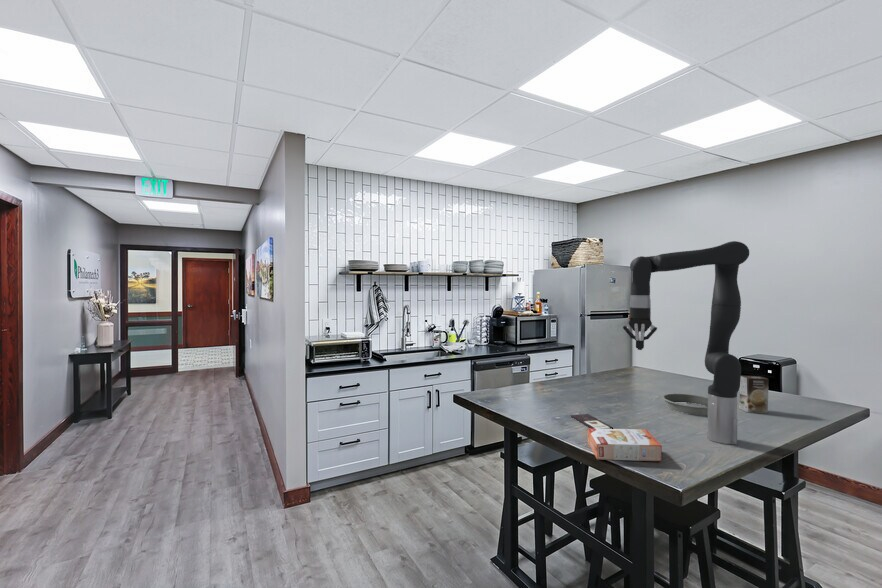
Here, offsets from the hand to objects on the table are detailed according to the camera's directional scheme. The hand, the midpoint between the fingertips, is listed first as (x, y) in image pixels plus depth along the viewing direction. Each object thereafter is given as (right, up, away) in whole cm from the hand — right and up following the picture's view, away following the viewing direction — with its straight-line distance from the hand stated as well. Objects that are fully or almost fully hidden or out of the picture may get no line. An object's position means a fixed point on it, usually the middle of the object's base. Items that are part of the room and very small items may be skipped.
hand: (639, 349), depth 166 cm
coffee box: (+67, -33, +29) cm, 80 cm away
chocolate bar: (-16, -33, +12) cm, 39 cm away
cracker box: (-6, -30, -23) cm, 38 cm away
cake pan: (+40, -33, +32) cm, 61 cm away
